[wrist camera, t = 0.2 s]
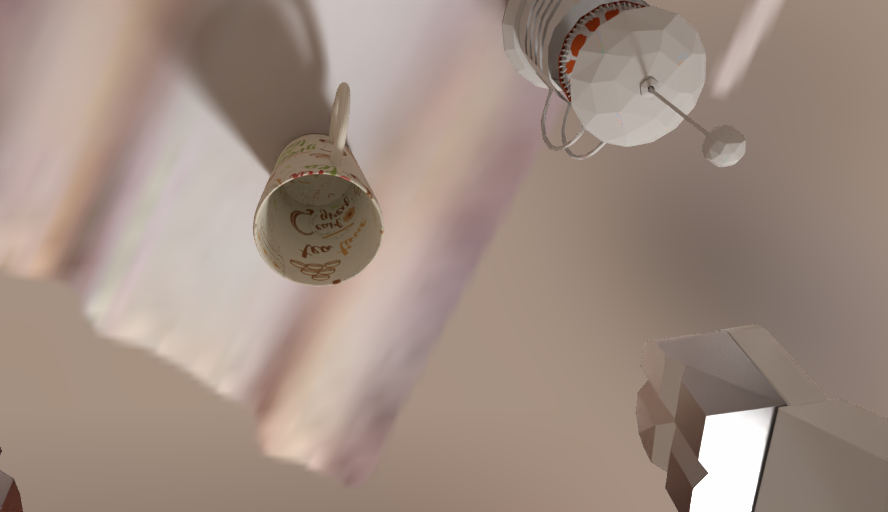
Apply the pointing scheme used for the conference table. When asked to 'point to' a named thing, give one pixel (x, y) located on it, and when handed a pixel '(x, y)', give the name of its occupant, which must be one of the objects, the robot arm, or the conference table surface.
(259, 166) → the conference table surface
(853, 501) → the robot arm
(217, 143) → the conference table surface
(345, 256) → the mug
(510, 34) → the french press
